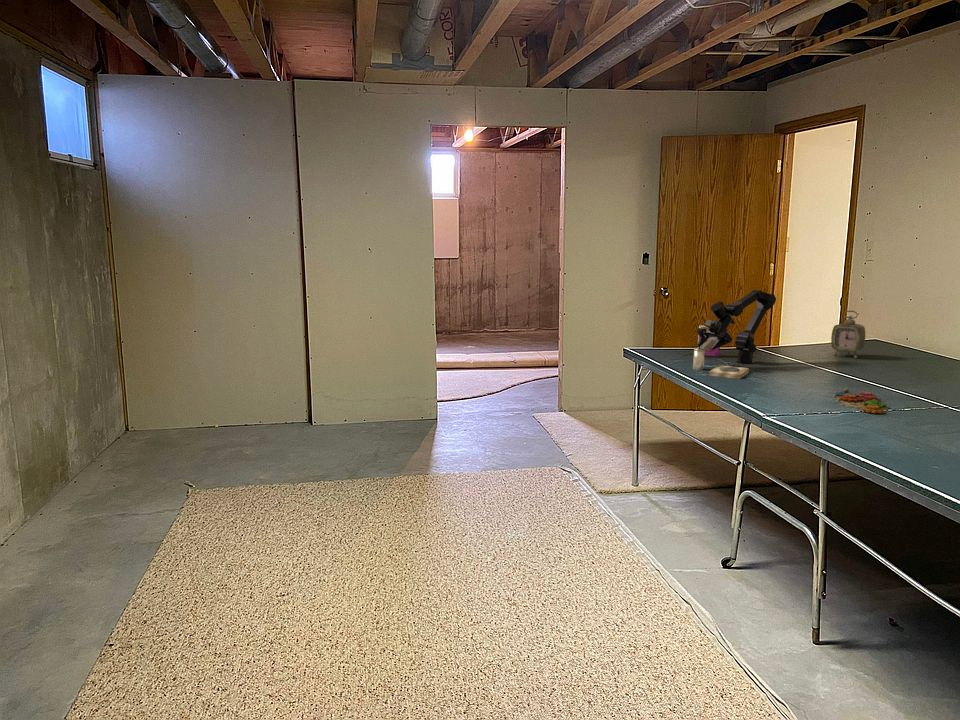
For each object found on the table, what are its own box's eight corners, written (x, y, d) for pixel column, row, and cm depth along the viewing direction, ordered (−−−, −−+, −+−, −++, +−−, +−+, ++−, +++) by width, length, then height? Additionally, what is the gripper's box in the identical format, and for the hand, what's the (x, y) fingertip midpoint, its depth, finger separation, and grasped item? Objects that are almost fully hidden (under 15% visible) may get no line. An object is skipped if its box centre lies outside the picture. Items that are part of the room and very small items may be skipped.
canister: (700, 367, 346) (701, 348, 344) (705, 369, 341) (706, 349, 339) (690, 368, 345) (692, 348, 343) (696, 370, 340) (697, 350, 338)
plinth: (748, 372, 335) (748, 367, 334) (739, 379, 320) (740, 373, 320) (718, 369, 342) (719, 364, 342) (708, 375, 328) (709, 370, 327)
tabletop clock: (829, 356, 377) (833, 310, 372) (836, 353, 383) (840, 308, 378) (858, 359, 366) (862, 312, 362) (864, 357, 372) (869, 311, 368)
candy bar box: (698, 356, 376) (700, 326, 373) (696, 354, 381) (698, 325, 378) (719, 356, 375) (721, 326, 372) (717, 355, 380) (719, 325, 377)
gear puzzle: (896, 417, 257) (897, 406, 256) (848, 414, 261) (849, 404, 260) (873, 397, 286) (874, 388, 286) (830, 395, 290) (831, 386, 290)
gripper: (700, 312, 350) (683, 335, 347) (729, 315, 334) (711, 340, 331) (710, 326, 356) (693, 349, 352) (739, 331, 339) (722, 355, 336)
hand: (704, 348), depth 343 cm, fingers open, 9 cm apart
